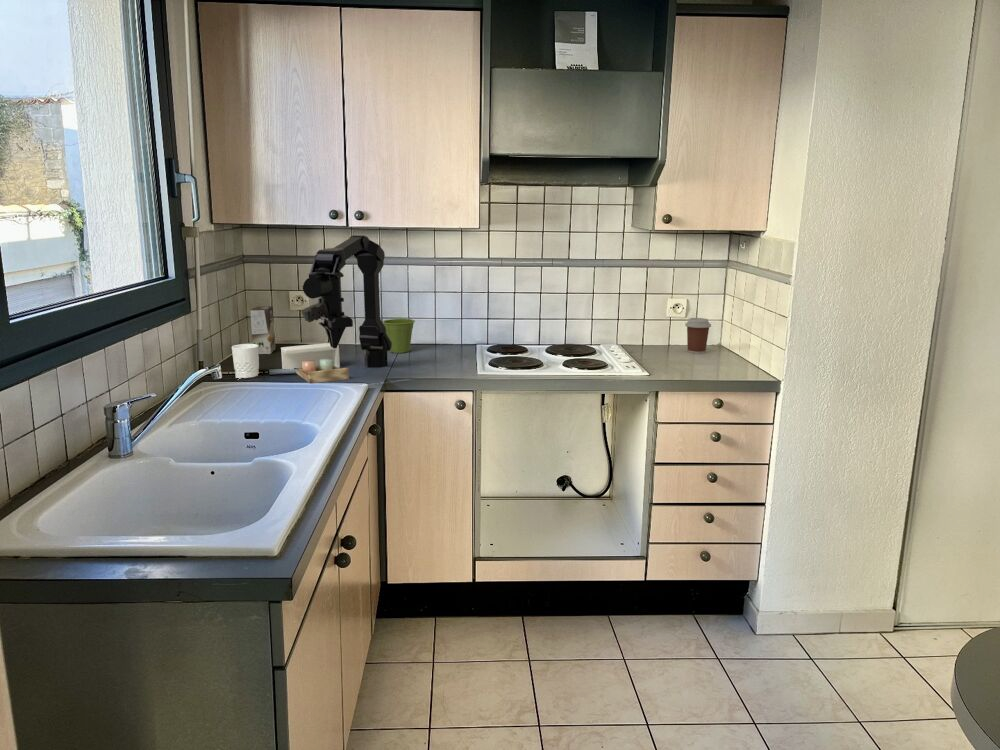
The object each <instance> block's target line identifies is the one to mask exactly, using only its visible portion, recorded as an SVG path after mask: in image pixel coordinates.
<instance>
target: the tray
mask: <svg viewBox="0 0 1000 750" xmlns="http://www.w3.org/2000/svg"><path fill="white" fill-rule="evenodd" d="M295 371H296V372H295V373H296V375H298V377H299V376H300V377H301V378H302V379H304V380H305V381H306V382H307V383H309V384H316V383H324V382H326V383H327V382H335V381H342V380H350V372H349V371H350V369H349V367H344V368H341V367H340V368H337V367H335V366H334V365H333V370H324V371H320V366H318V367H316V371H315V372H309V375H306V374H305V373H303V370H302V368H299V369H295Z"/></svg>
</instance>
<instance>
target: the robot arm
mask: <svg viewBox="0 0 1000 750" xmlns="http://www.w3.org/2000/svg"><path fill="white" fill-rule="evenodd" d="M351 257H354V258H355V260H356V261H357V262H356V263H357V267H358V269H359V270H360V272H361V273H362V276H363V277H362V278H363V302H364V303H363V304H364V307H363V308H364V321H363V322H362V324H361V325H359V327H358V331H359V336H358V338H359V345H360V348H361V351H365V354H364V366H365V368H369V369H373V368H375V369H377V368H379V369H380V368H385V367H388V368H390V366H389V365H388V361H389V360H388V352H390V349H391V345H392V342H391V341H390V339H389V337H388V336H387V334H386V327H385V325H384V323H383V322H382V321H383V320H382V319H381V306H380V304H381V301H380V300H381V298H380V277H379V276H380V272H381V271H382V269H383V267H384V261H385V251H384V249H383V248H382V247H381V246H380V245H379V243H376V241H375V242H374V241H372V240H371V239H370V238H369V237H368V236H367V235H360V234H359V235H358V234H357V235H356V234H354V235H351V236H349V238H348V239H346V240H344V241H342V242H341V243H339V244H338V245H335V246H334V247H329V248H323V249H318V250H317V251H316V254H315V255H314V260H313V261H312V265H311V268H310V272H309V273H308V278H307V279H305V280H304V282H303V284H302V290H303V293H304V294H305V296H306V297H308V298H309V299H318V300H317V301H318V302H317V303H315V304H311V305H310V306H308V307H307V306H306V307H305V308H303V309H301V310H300V311H301V312H300V313H301V314H302V316H303V318H304V321H305V322H308V323H311V322H314V321H319V320H320V322H318V325H320V326H321V327H323V329H324V331H325V333H326V336H327V339H328V343H330V346H331V347H333V348H337V346H339V343H340V340H341V339H342V337H343V334H344V333H345V330H346V328H352V327H354V320H353V319H352V317H350V316H348V315H345V312H344V311H343V303H344V302H345V299H344V297H342V282H341V281H342V280H341V278H343V277H344V273H342V272H341V271H342V269H343V268H344V267H345V266H346V261H347V260H348V259H350V258H351ZM342 302H343V303H342Z"/></svg>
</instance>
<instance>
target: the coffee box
mask: <svg viewBox="0 0 1000 750" xmlns="http://www.w3.org/2000/svg"><path fill="white" fill-rule="evenodd" d="M249 311H250V326H251V327H250V328H251V340H252V341H251V342H252V344H257V345H258V347H259V355H271V354H272V353H274V351H275V350H276V338H275V323H274V322H275V321H274V307H273V306H272V305H271V306H267V305H266V306H265V305H264V306H263V305H262V306H255V307H253V308H251V309H250V310H249Z"/></svg>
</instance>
